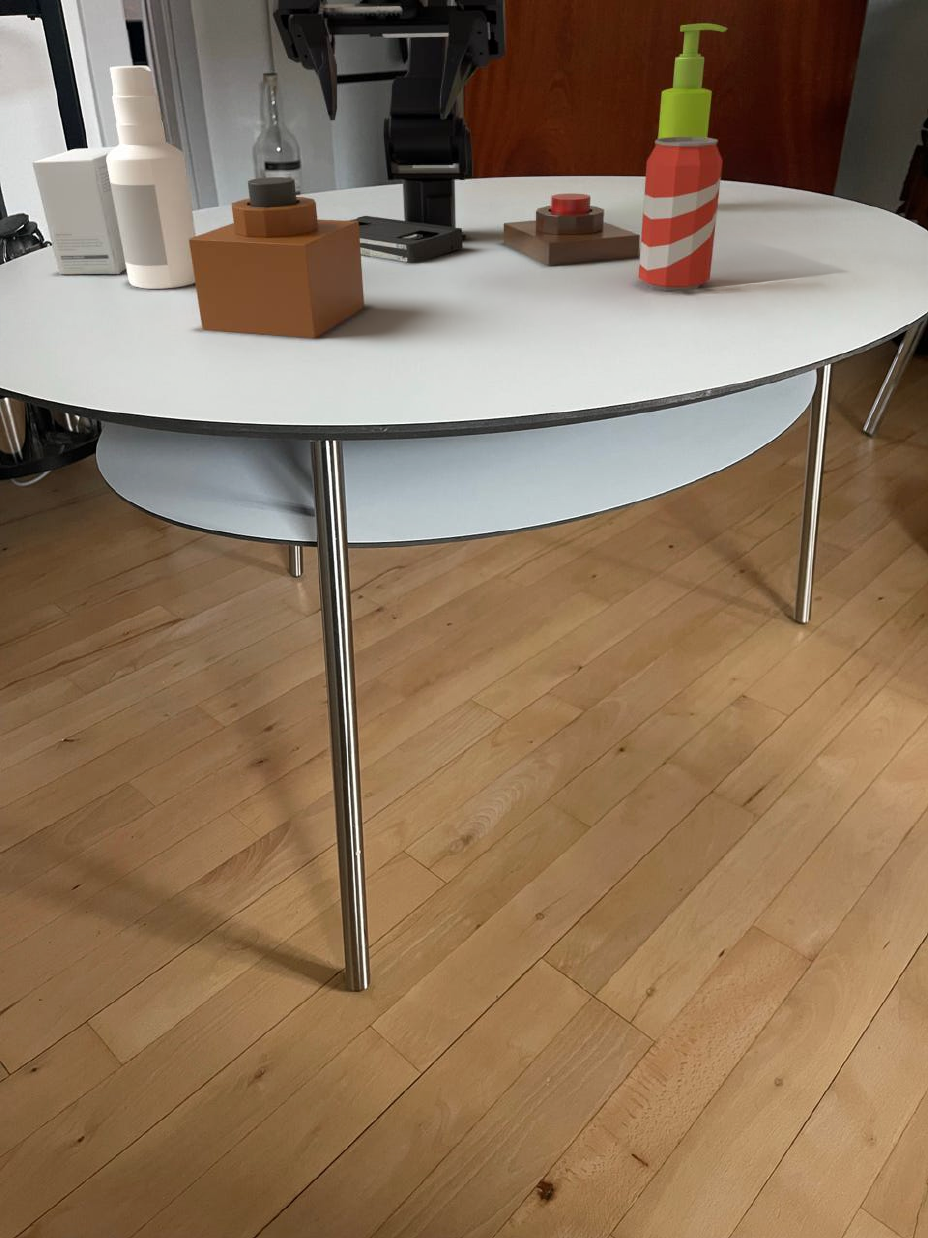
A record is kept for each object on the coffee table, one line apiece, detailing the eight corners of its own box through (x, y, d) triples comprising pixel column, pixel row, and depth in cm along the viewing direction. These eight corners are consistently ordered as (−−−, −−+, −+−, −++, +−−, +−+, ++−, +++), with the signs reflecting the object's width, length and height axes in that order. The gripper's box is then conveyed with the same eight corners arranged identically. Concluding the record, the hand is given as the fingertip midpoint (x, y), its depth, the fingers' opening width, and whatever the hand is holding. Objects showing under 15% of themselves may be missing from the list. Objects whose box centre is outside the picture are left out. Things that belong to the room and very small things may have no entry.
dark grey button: (264, 203, 80) (261, 176, 79) (304, 205, 79) (302, 177, 78) (242, 211, 77) (239, 182, 76) (284, 213, 76) (281, 184, 75)
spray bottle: (137, 274, 97) (98, 65, 88) (207, 272, 98) (176, 63, 88) (122, 291, 92) (79, 69, 82) (197, 288, 92) (163, 67, 83)
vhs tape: (316, 248, 108) (313, 229, 107) (366, 233, 113) (365, 215, 112) (412, 264, 100) (411, 243, 99) (462, 248, 105) (461, 228, 104)
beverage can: (624, 283, 91) (633, 139, 85) (677, 274, 94) (690, 134, 87) (668, 297, 86) (681, 145, 80) (722, 287, 89) (739, 140, 83)
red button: (544, 212, 103) (545, 194, 102) (579, 210, 104) (580, 192, 103) (560, 219, 100) (561, 200, 99) (596, 216, 101) (597, 197, 100)
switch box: (503, 244, 107) (503, 204, 105) (586, 236, 110) (588, 198, 108) (548, 266, 98) (549, 223, 96) (638, 257, 100) (641, 215, 98)
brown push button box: (260, 300, 88) (247, 190, 83) (364, 307, 85) (357, 194, 80) (202, 329, 80) (183, 210, 75) (314, 338, 77) (303, 215, 72)
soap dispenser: (708, 212, 122) (728, 23, 112) (651, 211, 123) (666, 24, 113) (708, 204, 127) (727, 22, 117) (653, 203, 128) (667, 23, 118)
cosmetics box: (94, 253, 107) (72, 145, 101) (153, 252, 106) (134, 145, 101) (55, 275, 98) (28, 158, 92) (118, 274, 97) (96, 158, 92)
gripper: (260, -138, 76) (245, 48, 74) (504, -146, 74) (496, 43, 72) (296, -24, 87) (284, 140, 85) (508, -29, 85) (502, 138, 83)
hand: (386, 116), depth 81 cm, fingers open, 9 cm apart
